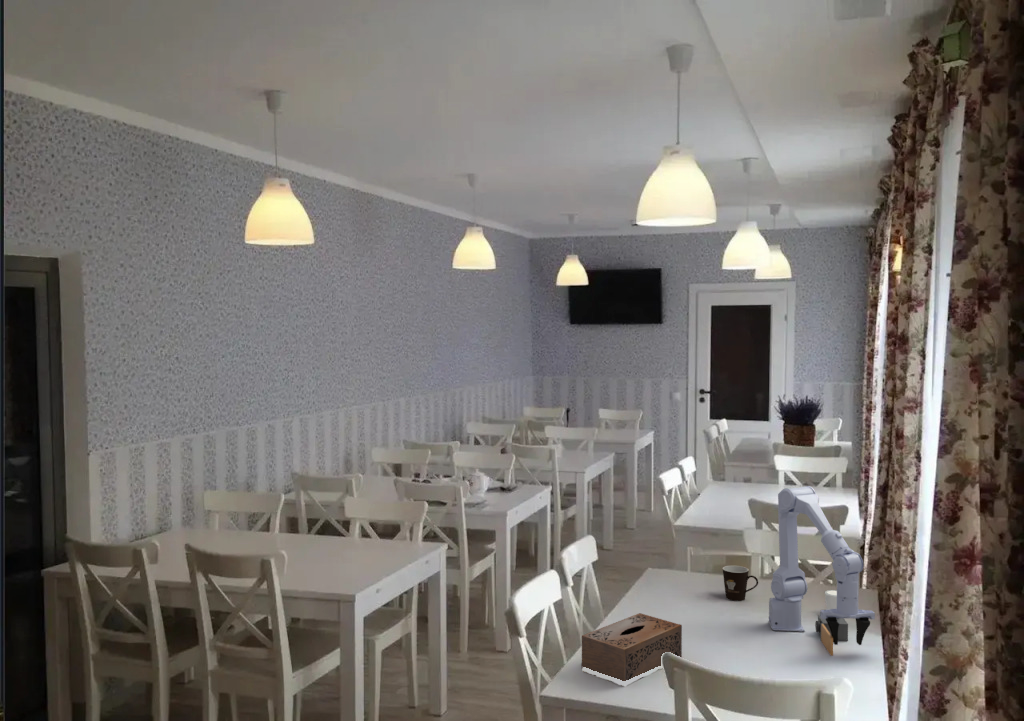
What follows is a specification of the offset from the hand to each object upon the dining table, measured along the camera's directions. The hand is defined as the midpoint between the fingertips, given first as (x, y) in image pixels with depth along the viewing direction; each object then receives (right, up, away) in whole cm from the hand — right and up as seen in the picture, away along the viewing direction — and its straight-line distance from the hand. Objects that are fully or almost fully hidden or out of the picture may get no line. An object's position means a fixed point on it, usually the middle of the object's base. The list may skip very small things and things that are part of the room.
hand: (847, 643), depth 245 cm
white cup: (+9, -2, +33) cm, 35 cm away
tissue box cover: (-62, -4, -7) cm, 62 cm away
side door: (-4, -3, +5) cm, 7 cm away
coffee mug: (-18, -1, +49) cm, 52 cm away
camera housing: (+1, -2, +14) cm, 14 cm away
